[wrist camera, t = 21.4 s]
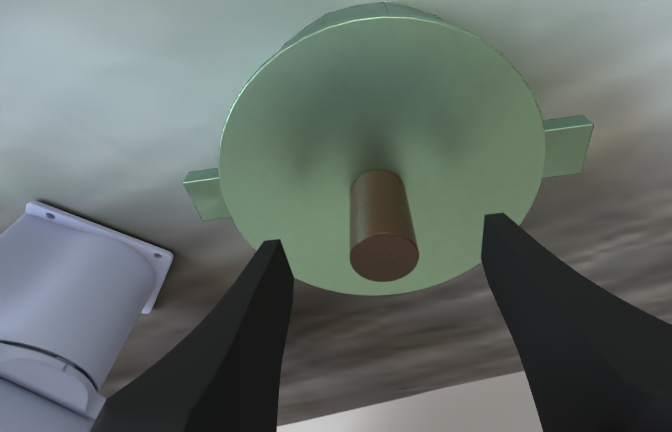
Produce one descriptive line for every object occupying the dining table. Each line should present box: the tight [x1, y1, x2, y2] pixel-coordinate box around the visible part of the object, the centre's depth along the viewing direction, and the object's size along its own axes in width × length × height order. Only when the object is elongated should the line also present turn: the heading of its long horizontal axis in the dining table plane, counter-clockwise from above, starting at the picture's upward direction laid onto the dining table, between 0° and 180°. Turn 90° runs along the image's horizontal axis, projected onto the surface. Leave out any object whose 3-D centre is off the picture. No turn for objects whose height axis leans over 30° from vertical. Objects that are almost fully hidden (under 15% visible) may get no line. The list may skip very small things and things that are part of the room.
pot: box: [183, 2, 594, 221], centre depth 18 cm, size 13×18×6 cm
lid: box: [218, 14, 546, 295], centre depth 15 cm, size 14×14×5 cm
